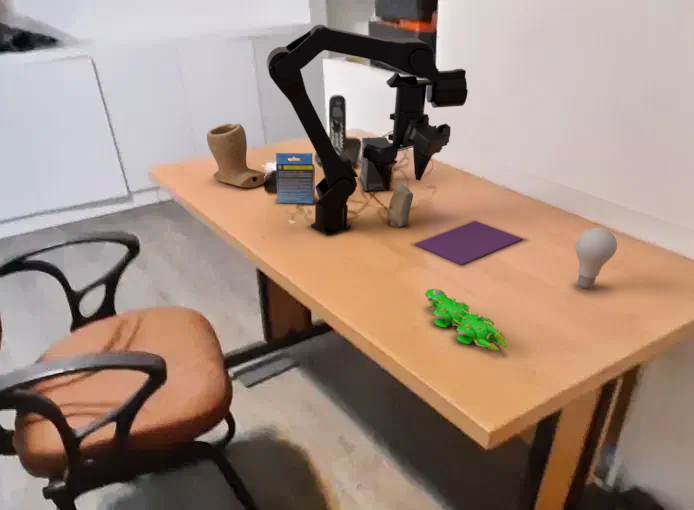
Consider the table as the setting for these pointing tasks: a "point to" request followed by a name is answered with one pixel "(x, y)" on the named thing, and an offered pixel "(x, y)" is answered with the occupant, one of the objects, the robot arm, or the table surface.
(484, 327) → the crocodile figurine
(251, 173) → the tan boot-shaped vase
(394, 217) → the grey rounded block
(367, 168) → the small box
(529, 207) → the table surface
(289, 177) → the tape cartridge
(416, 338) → the table surface
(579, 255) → the lightbulb
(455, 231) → the felt cloth
